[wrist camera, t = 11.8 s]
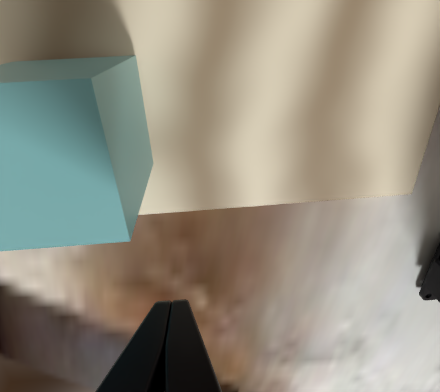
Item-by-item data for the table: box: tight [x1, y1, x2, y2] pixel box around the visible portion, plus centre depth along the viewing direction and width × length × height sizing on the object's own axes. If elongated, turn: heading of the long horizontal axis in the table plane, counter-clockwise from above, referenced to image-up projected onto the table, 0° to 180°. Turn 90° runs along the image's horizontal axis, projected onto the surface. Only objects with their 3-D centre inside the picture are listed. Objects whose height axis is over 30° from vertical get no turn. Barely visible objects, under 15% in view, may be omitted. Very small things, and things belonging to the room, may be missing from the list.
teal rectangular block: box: [0, 55, 153, 251], centre depth 12 cm, size 5×5×7 cm
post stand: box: [0, 0, 440, 215], centre depth 13 cm, size 24×12×8 cm, turn 92°
